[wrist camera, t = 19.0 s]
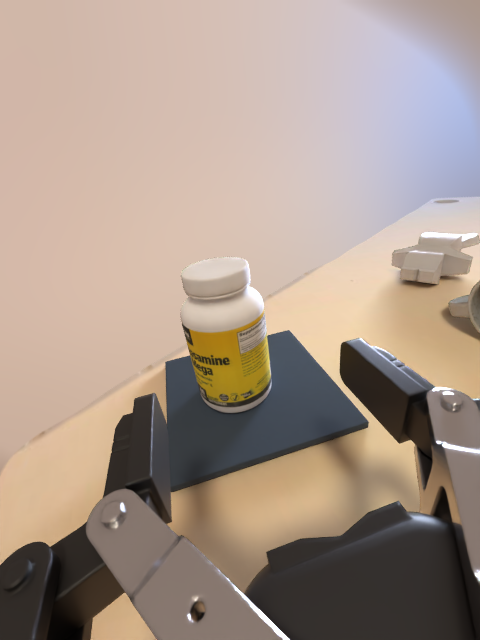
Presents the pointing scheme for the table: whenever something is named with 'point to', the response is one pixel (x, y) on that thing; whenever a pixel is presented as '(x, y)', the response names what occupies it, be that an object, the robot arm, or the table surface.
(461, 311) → the ceramic mug
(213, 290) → the pill bottle
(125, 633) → the table surface
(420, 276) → the bunny figurine
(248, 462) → the mat
